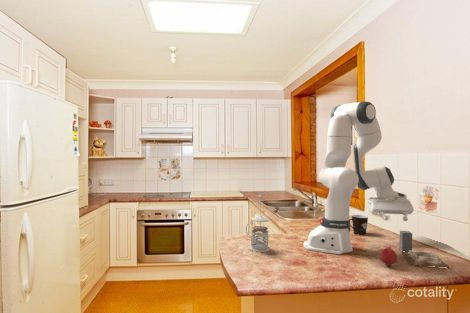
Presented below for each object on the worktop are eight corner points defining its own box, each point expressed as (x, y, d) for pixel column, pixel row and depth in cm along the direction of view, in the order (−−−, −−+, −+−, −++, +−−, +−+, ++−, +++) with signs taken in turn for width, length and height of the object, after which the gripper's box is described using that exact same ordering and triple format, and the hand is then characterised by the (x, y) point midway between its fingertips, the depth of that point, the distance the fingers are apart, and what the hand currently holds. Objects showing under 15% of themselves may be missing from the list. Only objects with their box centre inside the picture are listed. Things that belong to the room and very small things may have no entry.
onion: (388, 269, 110) (388, 248, 110) (377, 264, 115) (377, 244, 115) (400, 268, 111) (400, 247, 111) (388, 262, 117) (388, 243, 117)
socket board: (412, 265, 114) (412, 258, 114) (401, 254, 127) (401, 248, 127) (449, 269, 111) (449, 261, 111) (435, 257, 124) (435, 251, 124)
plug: (402, 252, 131) (402, 232, 131) (399, 249, 135) (399, 230, 135) (412, 253, 130) (412, 233, 130) (409, 250, 134) (409, 231, 134)
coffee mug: (364, 232, 166) (364, 215, 166) (370, 236, 158) (370, 218, 158) (344, 231, 167) (344, 214, 168) (348, 235, 159) (348, 217, 159)
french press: (269, 252, 127) (270, 197, 128) (244, 250, 130) (244, 196, 130) (271, 246, 137) (271, 194, 137) (247, 244, 139) (248, 193, 140)
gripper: (368, 193, 150) (376, 215, 140) (409, 194, 149) (419, 217, 139) (365, 200, 154) (372, 222, 145) (404, 201, 153) (414, 224, 143)
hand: (396, 220), depth 142 cm, fingers open, 8 cm apart
